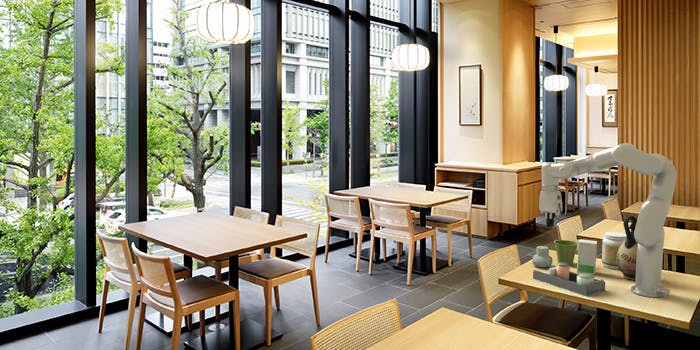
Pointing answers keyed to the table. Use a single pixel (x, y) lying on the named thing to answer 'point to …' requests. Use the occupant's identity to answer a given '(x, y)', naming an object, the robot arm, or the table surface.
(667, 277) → the table surface
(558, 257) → the plant pot
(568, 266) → the terracotta jar
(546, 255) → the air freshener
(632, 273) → the ceramic jug
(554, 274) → the pusher plate
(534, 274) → the grey tray
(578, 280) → the sage ceramic jar
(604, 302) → the table surface
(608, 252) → the supplement tub
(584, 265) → the skincare box
